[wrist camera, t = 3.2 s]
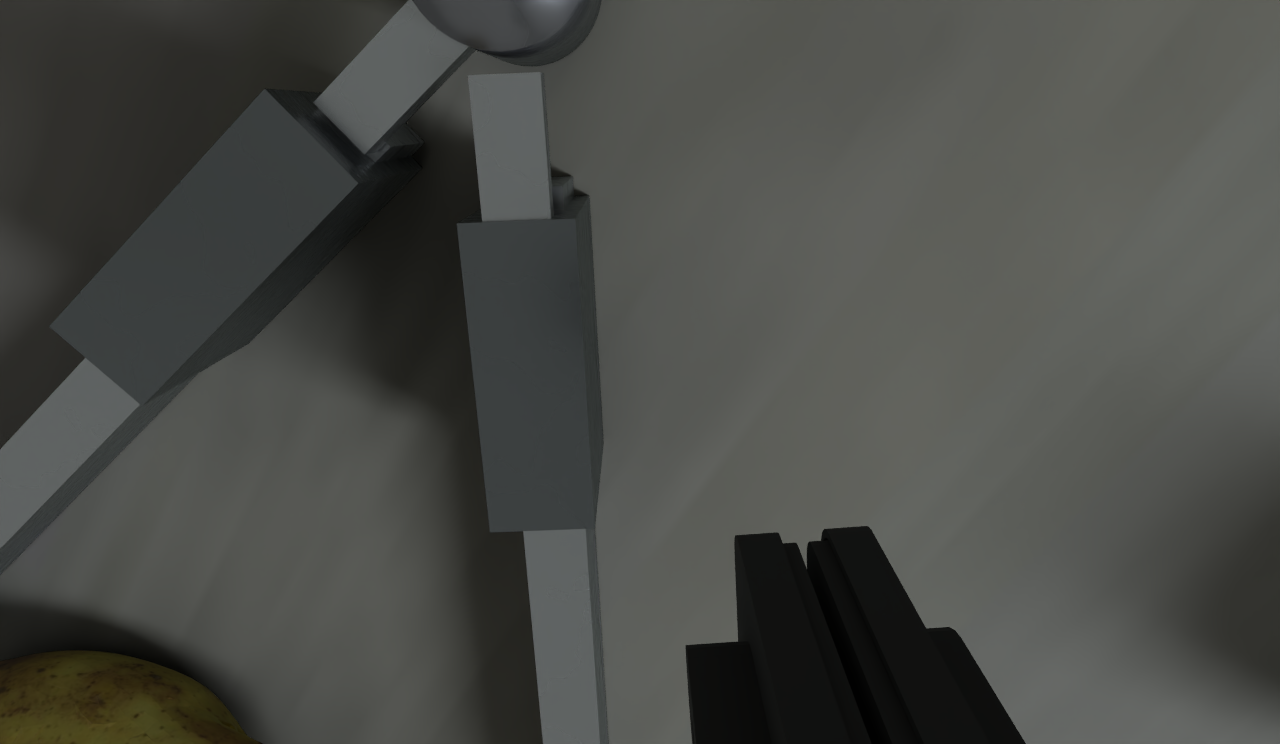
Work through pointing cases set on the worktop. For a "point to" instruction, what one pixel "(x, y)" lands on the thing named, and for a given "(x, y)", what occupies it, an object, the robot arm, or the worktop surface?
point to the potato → (108, 702)
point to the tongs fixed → (251, 238)
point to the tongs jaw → (539, 388)
